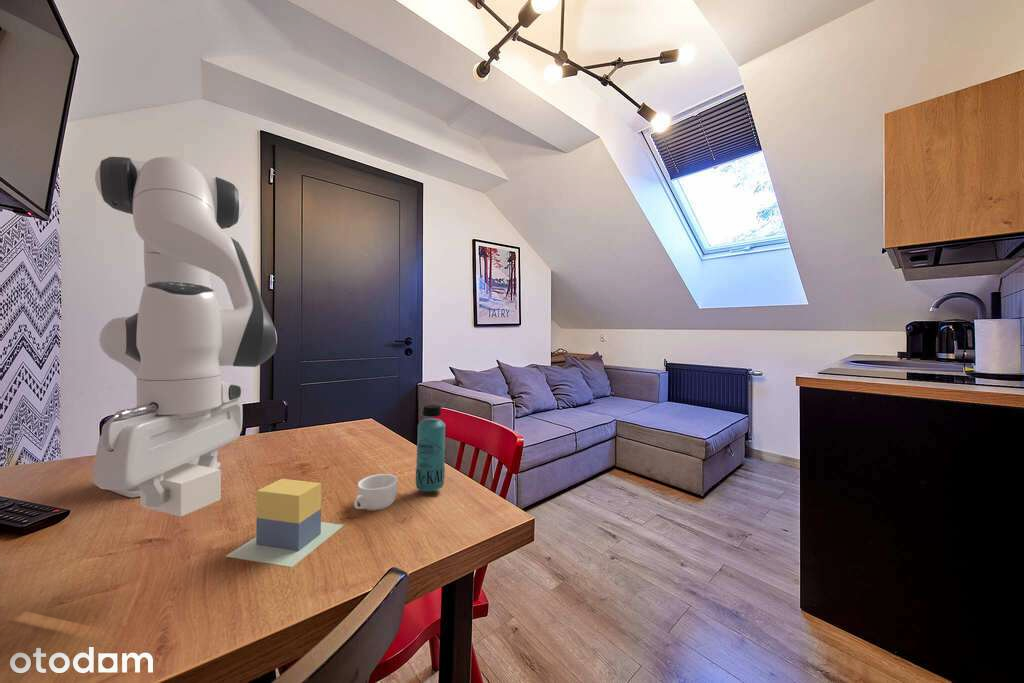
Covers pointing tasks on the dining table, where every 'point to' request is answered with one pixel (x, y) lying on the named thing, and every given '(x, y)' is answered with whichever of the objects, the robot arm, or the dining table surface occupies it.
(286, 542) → the navy brick
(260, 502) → the mustard brick
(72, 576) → the dining table surface
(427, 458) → the beverage bottle
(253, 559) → the build plate
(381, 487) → the teacup
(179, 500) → the cream brick
